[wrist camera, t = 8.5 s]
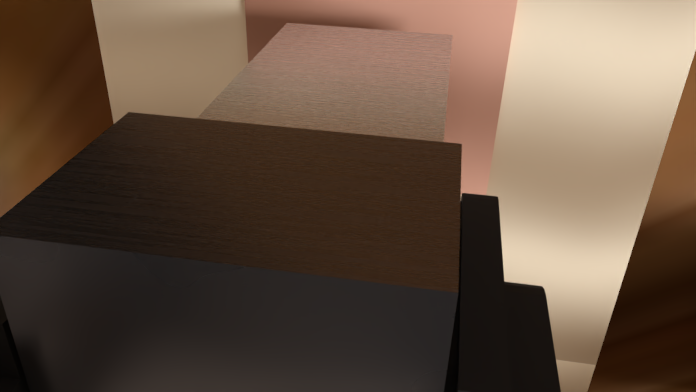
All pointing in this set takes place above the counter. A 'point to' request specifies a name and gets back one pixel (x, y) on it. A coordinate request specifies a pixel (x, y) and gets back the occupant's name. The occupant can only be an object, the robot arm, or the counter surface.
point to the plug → (253, 233)
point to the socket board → (476, 116)
